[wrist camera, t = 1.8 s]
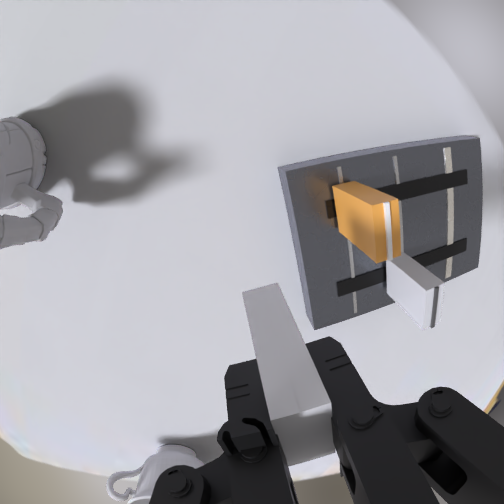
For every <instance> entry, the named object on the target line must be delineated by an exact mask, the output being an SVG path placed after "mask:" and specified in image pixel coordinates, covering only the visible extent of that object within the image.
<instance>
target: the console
mask: <svg viewBox="0 0 504 504" xmlns="http://www.w3.org/2000/svg"><path fill="white" fill-rule="evenodd" d="M278 171H279V175H280V180H281V185H282V189H283V194H284V199H285V203H286V208H287V213H288V218H289V223H290V228H291V233H292V238H293V243H294V248H295V253H296V258H297V264H298V269H299V274H300V280H301V285H302V291H303V296H304V302H305V308H306V314H307V317H308V319H309V320H310V322H311V324H312V326H313V328H314V330H317V329H320V328H323V327H326V326H329V325H332V324H335V323H339V322H342V321H345V320H347V319H350V318H353V317H356V316H359V315H362V314H365V313H368V312H370V311H373V310H376V309H379V308H381V307H384V306H387V305H390V304H392V303H395V301H394V300H393V299H392V298H391V297H390V296H389V295H388V294H387V272H386V261H383V262H380V263H377V264H376V263H375V262H374V261H373V260H372V259H371V258H370V257H368V256H367V255H366V254H365V253H364V252H363V251H361V250H360V249H359V248H358V247H357V246H356V245H354V244H353V243H352V242H351V241H350V240H348V239H347V238H346V237H345V236H344V235H342V234H341V233H340V232H339V228H338V220H337V213H336V207H335V200H334V194H333V188H332V186H333V185H338V184H342V183H347V182H351V181H356V182H358V183H361V184H364V185H366V186H369V187H371V188H374V189H376V190H378V191H381V192H383V193H386V194H388V195H390V196H393V197H395V198H397V199H398V203H399V217H400V236H401V252H404V253H405V254H407V255H408V256H410V257H411V258H412V259H414V260H415V261H416V262H418V263H419V264H420V265H422V266H423V267H425V268H426V269H427V270H429V271H430V272H431V273H433V274H434V275H435V276H437V277H438V278H439V279H440V280H442V281H443V282H446V281H449V280H451V279H453V278H456V277H458V276H460V275H462V274H465V273H467V272H469V271H471V270H473V269H475V268H478V263H479V253H480V242H481V226H482V163H481V147H480V138H477V137H470V136H455V137H446V138H438V139H430V140H422V141H415V142H408V143H401V144H395V145H389V146H382V147H377V148H371V149H365V150H359V151H354V152H349V153H343V154H338V155H333V156H328V157H323V158H318V159H313V160H309V161H304V162H299V163H295V164H291V165H286V166H282V167H278Z"/></svg>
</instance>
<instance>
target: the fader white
mask: <svg viewBox="0 0 504 504" xmlns="http://www.w3.org/2000/svg"><path fill="white" fill-rule="evenodd" d="M386 272H387V294H388V295H389V296H390V297H391V298H392V299H393V300H394V301H395V302H396V303H397V304H398V305H399V306H400V307H401V308H402V309H403V310H404V311H405V312H406V313H407V314H408V315H409V317H410V318H411V319H412V320H413V321H414V322H415V323H416V324H417V325H418V326H419V327H420V328H421V329H422V330H424V329H427V328H429V327H431V328H433V327H435V324H437V323H439V322H440V321H441V313H442V306H443V297H444V288H445V283H444V282H443V281H442V280H440V279H439V278H438V277H437V276H435V275H434V274H433V273H431V272H430V271H429V270H427V269H426V268H425V267H423V266H422V265H420V264H419V263H418V262H416V261H415V260H414V259H412V258H411V257H410V256H408V255H407V254H405V253H404V252H401V256H398V257H395V258H393V260H391V261H387V260H386Z"/></svg>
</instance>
